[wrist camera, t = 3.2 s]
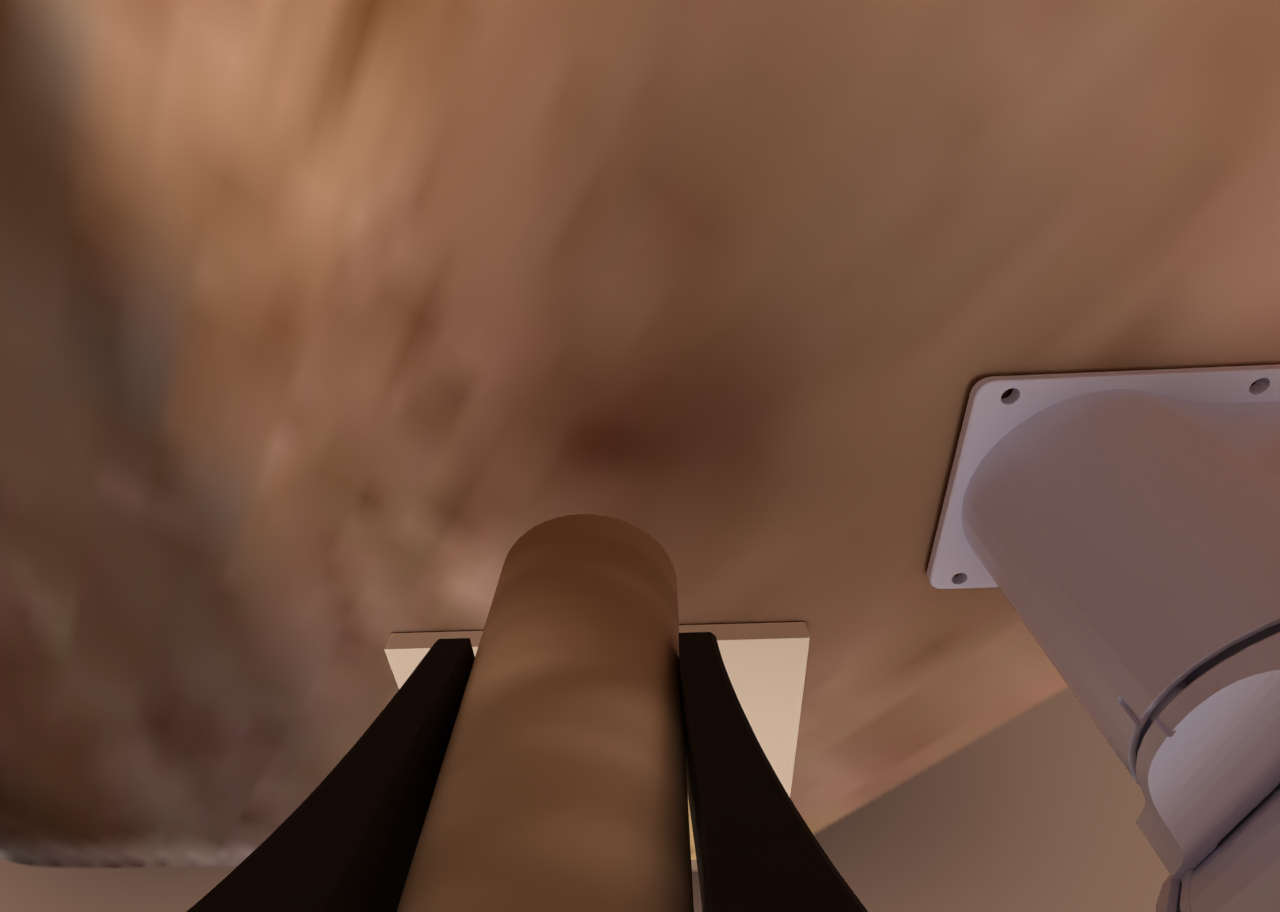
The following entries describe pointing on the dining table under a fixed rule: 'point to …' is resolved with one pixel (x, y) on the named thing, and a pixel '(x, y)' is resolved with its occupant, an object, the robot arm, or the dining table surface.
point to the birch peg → (566, 738)
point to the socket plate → (753, 657)
